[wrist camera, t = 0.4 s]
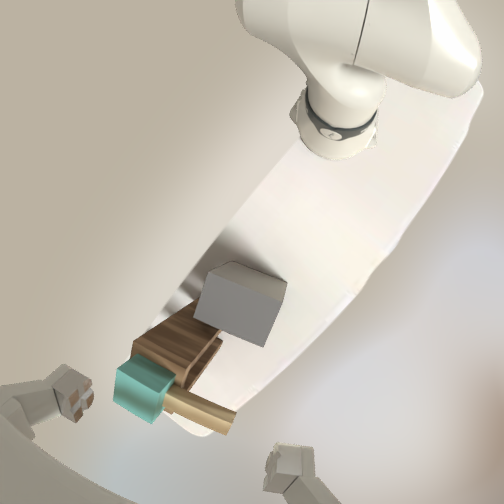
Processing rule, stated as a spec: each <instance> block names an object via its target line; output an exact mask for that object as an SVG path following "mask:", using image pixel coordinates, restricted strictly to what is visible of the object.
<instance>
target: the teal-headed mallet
mask: <svg viewBox="0 0 504 504" xmlns="http://www.w3.org/2000/svg"><path fill="white" fill-rule="evenodd" d="M175 377H176V374H175V373H173V372H171V371H169V370H167V369H165V368H163V367H161V366H159V365H158V364H156V363H154V362H152V361H150V360H149V359H147V358H145V357H143V356H141V355H140V354H138V353H137V354H136V355H135V356H133V357H132V358H131V359H129V360H128V361H127V362H125V363H124V364H122V365H121V366H120V367H118V368H117V372H116V380H115V389H114V397H113V401H114V402H115V403H117V404H119V405H120V406H122V407H123V408H125V409H127V410H128V411H130V412H131V413H133V414H135V415H136V416H138V417H140V418H141V419H143V420H145V421H147V422H149V423H150V424H152V423H153V422H154V421H155V419H156V418H157V417H158V416H159V415H160V413H161V412H162V411H163V410H164V408H167V409H169V410H171V411H173V412H175V413H177V414H179V415H181V416H183V417H185V418H187V419H189V420H191V421H193V422H196V423H198V424H200V425H202V426H204V427H207V428H209V429H211V430H214V431H216V432H219V433H221V434H224V435H227V433H228V431H229V429H230V427H231V425H232V423H233V420H234V418H235V415H236V412H234V411H232V410H229V409H227V408H225V407H222V406H220V405H217V404H215V403H213V402H211V401H208V400H206V399H204V398H202V397H199V396H197V395H195V394H193V393H191V392H189V391H187V390H185V389H183V388H181V387H179V386H177V385H175V384H174V381H175Z"/></svg>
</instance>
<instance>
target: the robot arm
mask: <svg viewBox="0 0 504 504" xmlns="http://www.w3.org/2000/svg"><path fill="white" fill-rule="evenodd" d="M235 6H236V11H237V15H238V17H239V20H240V22H241V24H242V25H243V27H244V28H245V29H246V31H247V32H248V33H249V34H251V35H252V36H254V37H256V38H259V39H261V40H263V41H265V42H267V43H269V44H271V45H272V46H274V47H276V48H277V49H279V50H280V51H282V52H283V53H284V54H286V55H287V56H288V57H289V58H291V60H292V61H294V62H295V63H296V64H297V66H299V68H300V69H301V70H302V71H303V72H304V74H305V75H306V77H307V81H306V85H307V87H306V88H305V90H302V92H301V96H300V97H299V99H298V100H297V102H296V103H295V105H294V106H293V108H292V109H291V111H290V118H291V119H292V120H293V122H294V123H295V124H296V125H297V127H298V129H299V132H300V136H301V138H302V140H303V142H304V143H305V145H306V146H307V147H308V148H309V149H310V150H311V151H312V152H314V153H315V154H317V155H319V156H321V157H323V158H326V159H330V160H344V159H348V158H351V157H353V156H355V155H356V154H358V153H359V152H360V151H362V150H367V149H372V148H374V147H375V146H376V144H377V135H378V110H379V105H380V103H381V101H382V100H383V98H384V96H385V93H386V79H385V76H387V77H389V78H392V79H394V80H397V81H399V82H401V83H404V84H406V85H408V86H410V87H413V88H416V89H420V90H423V91H426V92H430V93H433V94H437V95H440V96H443V97H447V98H456V97H459V96H461V95H463V94H465V93H466V92H468V91H469V90H470V89H471V88H472V87H473V86H474V85H475V83H476V82H477V80H478V78H479V76H480V73H481V69H482V51H481V47H480V43H479V40H478V38H477V36H476V34H475V32H474V31H473V29H472V28H471V26H470V24H469V23H468V21H467V19H466V18H465V16H464V14H463V12H462V11H461V8H460V7H459V5H458V3H457V1H456V0H235ZM372 137H373V138H372ZM91 385H92V381H91V379H89V378H88V377H86V376H84V375H82V374H81V373H79V372H77V371H76V370H74V369H72V368H71V367H69V366H67V365H66V364H62V365H61V366H60V367H58V368H57V369H56V370H55V371H54V372H52V373H51V374H50V375H49V376H48V377H47V378H46V379H45V380H43V381H42V380H36V381H30V382H23V383H16V384H9V385H2V386H0V504H137V503H135V502H133V501H130V500H128V499H126V498H124V497H121V496H119V495H117V494H115V493H113V492H111V491H109V490H107V489H105V488H103V487H101V486H99V485H97V484H95V483H94V482H92V481H90V480H88V479H87V478H85V477H83V476H82V475H80V474H78V473H77V472H75V471H73V470H72V469H70V468H68V467H67V466H65V465H64V464H62V463H61V462H59V461H58V460H57V459H55V458H54V457H52V456H51V455H49V454H48V453H47V452H45V451H44V450H43V449H41V448H40V447H39V446H37V445H36V444H35V443H33V442H32V440H33V438H35V434H34V432H33V430H32V428H31V426H33V425H36V424H39V423H42V422H45V421H48V420H51V419H54V418H56V417H59V416H61V415H63V416H64V417H66V418H67V419H69V420H71V421H73V422H74V423H77V422H78V421H79V419H80V418H81V417H82V416H83V410H86V409H88V408H89V407H90V406H91V405H92V402H93V399H94V393H93V390H92V389H91V388H90V387H91ZM265 471H266V473H267V475H266V477H265V479H264V485H263V491H267V492H273V493H280V494H283V496H284V498H285V500H286V501H287V503H288V504H341V503H340V502H339V501H338V499H337V498H336V497H335V496H334V495H333V494H332V493H331V492H330V490H329V489H328V488H327V487H326V486H325V484H324V483H323V482H322V481H321V480H320V479H319V478H318V477H315V464H314V449H313V447H307V446H300V445H292V444H286V443H279V442H278V443H276V444H275V445H274V449H273V451H272V452H270V454H269V456H268V459H267V462H266V467H265Z"/></svg>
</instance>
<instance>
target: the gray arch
mask: <svg viewBox="0 0 504 504" xmlns="http://www.w3.org/2000/svg"><path fill="white" fill-rule="evenodd" d="M286 287H287V282H284V281H282V280H279V279H277V278H274V277H272V276H269V275H267V274H264V273H262V272H259V271H257V270H254V269H252V268H249V267H247V266H244V265H242V264H239V263H237V262H234V261H230V262H228V263H226V264H224V265H222V266H220V267H217V268H215V269H213V270H211V271H209V272H208V274H207V277H206V280H205V283H204V286H203V289H202V292H201V295H200V298H199V301H198V304H197V307H196V310H195V314H194V317H193V318H196V319H198V320H200V321H202V322H204V323H206V324H209V325H211V326H213V327H215V328H218V329H220V330H222V331H225V332H227V333H229V334H232V335H234V336H236V337H239V338H241V339H243V340H246V341H248V342H251V343H253V344H256V345H258V346H261V347H264V345H265V342H266V340H267V338H268V335H269V333H270V331H271V329H272V326H273V324H274V322H275V319H276V317H277V315H278V312H279V310H280V307H281V305H282V303H283V299H284V295H285V291H286Z"/></svg>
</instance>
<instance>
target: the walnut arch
mask: <svg viewBox="0 0 504 504" xmlns="http://www.w3.org/2000/svg"><path fill="white" fill-rule="evenodd" d="M199 298H200V297H199ZM199 298H197V299H196V300H194V301H193V302H191V303H190V304H188V305H187V306H185V307H184V308H182V309H181V310H179V311H178V312H176V313H175V314H173V315H172V316H170V317H169V318H167V319H166V320H164V321H163V322H161V323H160V324H158V325H157V326H155V327H154V328H152V329H151V330H149V331H148V332H146V333H145V334H143V335H142V336H140V337H139V338H137V339H136V340H134V341H133V345H132V350H131V356H130V359H131V358H132V357H133V356H135V355H136V354H137V353H138V354H140V355H141V356H143V357H145V358H147V359H149V360H150V361H152V362H154V363H156V364H158V365H159V366H161V367H163V368H165V369H167V370H169V371H171V372H173V373H175V374H176V377H175V381H174V384H175V385H177V386H179V387H181V388H183V389H185V390H187V391H189V390H190V389H191V388H192V386H193V385H194V384H195V382H196V381H197V379H198V378H199V377H200V375H201V374H202V372H203V371H204V370H205V368H206V367H207V365H208V364H209V363H210V361H211V360H212V358H213V357H214V356H215V354H216V353H217V351H218V350H219V349H220V347H221V345H222V342H223V341H222V340H220V339H218V338H216V337H217V336H218V335H219V333H220V332H221V331H222V330H220V329H218V328H215V327H213V326H211V325H209V324H206V323H204V322H202V321H200V320H198V319H196V318H193V317H194V314H195V310H196V307H197V304H198V301H199ZM164 411H166V412H168V413H170V414H173V411H171V410H169V409H167V408H164Z"/></svg>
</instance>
